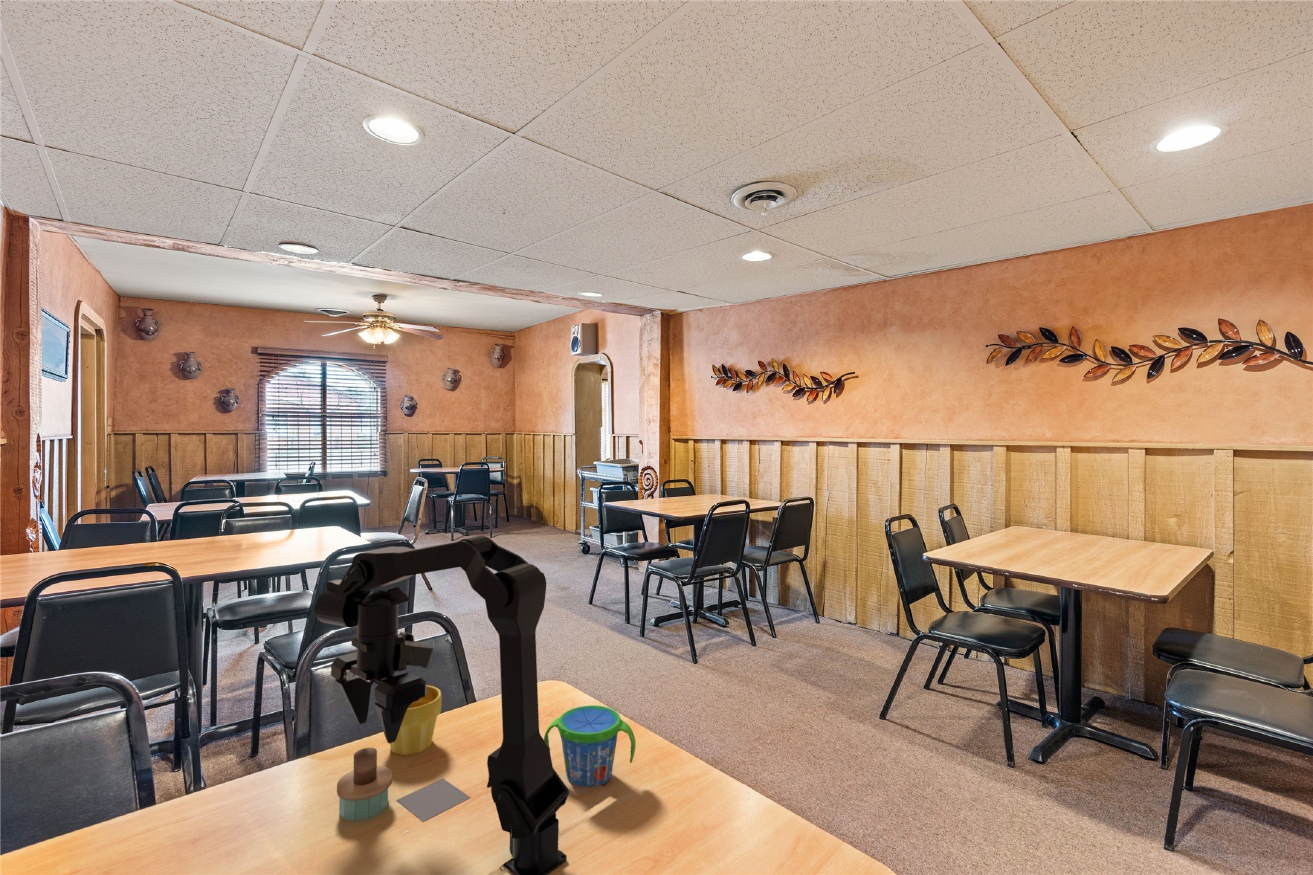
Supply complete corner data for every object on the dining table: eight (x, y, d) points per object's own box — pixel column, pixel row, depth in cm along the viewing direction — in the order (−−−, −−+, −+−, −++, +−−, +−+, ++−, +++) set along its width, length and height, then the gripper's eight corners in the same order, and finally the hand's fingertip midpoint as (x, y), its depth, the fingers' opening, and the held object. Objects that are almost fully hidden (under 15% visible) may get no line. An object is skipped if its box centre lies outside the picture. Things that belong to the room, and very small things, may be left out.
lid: (401, 784, 94) (401, 752, 93) (350, 807, 88) (351, 772, 88) (377, 766, 98) (378, 735, 98) (328, 786, 93) (328, 754, 92)
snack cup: (532, 789, 100) (533, 727, 100) (556, 756, 110) (557, 700, 110) (625, 803, 96) (626, 739, 96) (641, 768, 107) (642, 710, 107)
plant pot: (373, 767, 105) (373, 710, 105) (387, 737, 116) (388, 686, 115) (436, 761, 107) (437, 706, 107) (444, 733, 118) (445, 682, 117)
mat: (470, 802, 96) (470, 797, 96) (423, 827, 90) (423, 821, 90) (442, 783, 101) (442, 778, 101) (396, 805, 95) (396, 800, 95)
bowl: (395, 810, 93) (396, 784, 93) (351, 831, 88) (352, 804, 88) (375, 793, 98) (375, 768, 98) (332, 813, 93) (332, 786, 93)
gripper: (458, 631, 94) (457, 732, 94) (397, 608, 106) (396, 698, 106) (388, 650, 85) (387, 761, 86) (330, 623, 97) (329, 720, 97)
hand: (376, 732), depth 94 cm, fingers open, 9 cm apart
